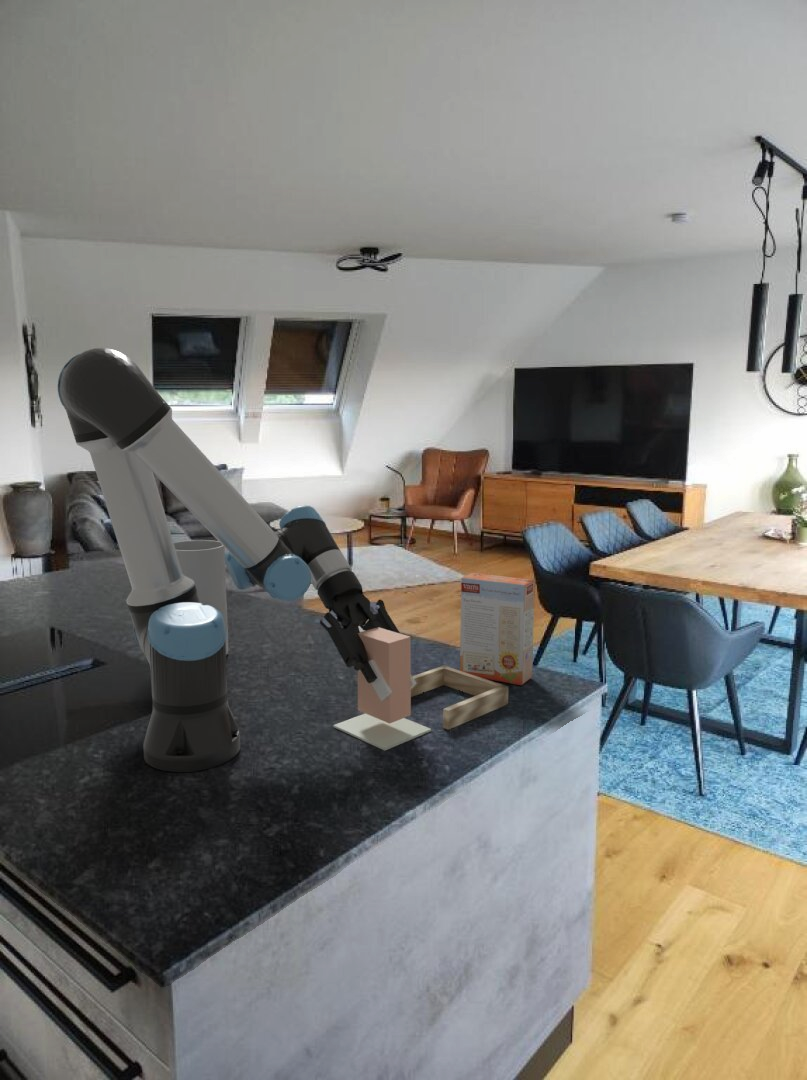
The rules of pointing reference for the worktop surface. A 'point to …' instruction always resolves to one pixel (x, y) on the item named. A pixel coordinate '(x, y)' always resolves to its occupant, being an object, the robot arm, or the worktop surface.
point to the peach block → (387, 675)
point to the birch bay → (483, 690)
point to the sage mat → (382, 730)
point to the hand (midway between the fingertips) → (399, 691)
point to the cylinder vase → (206, 572)
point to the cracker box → (497, 627)
